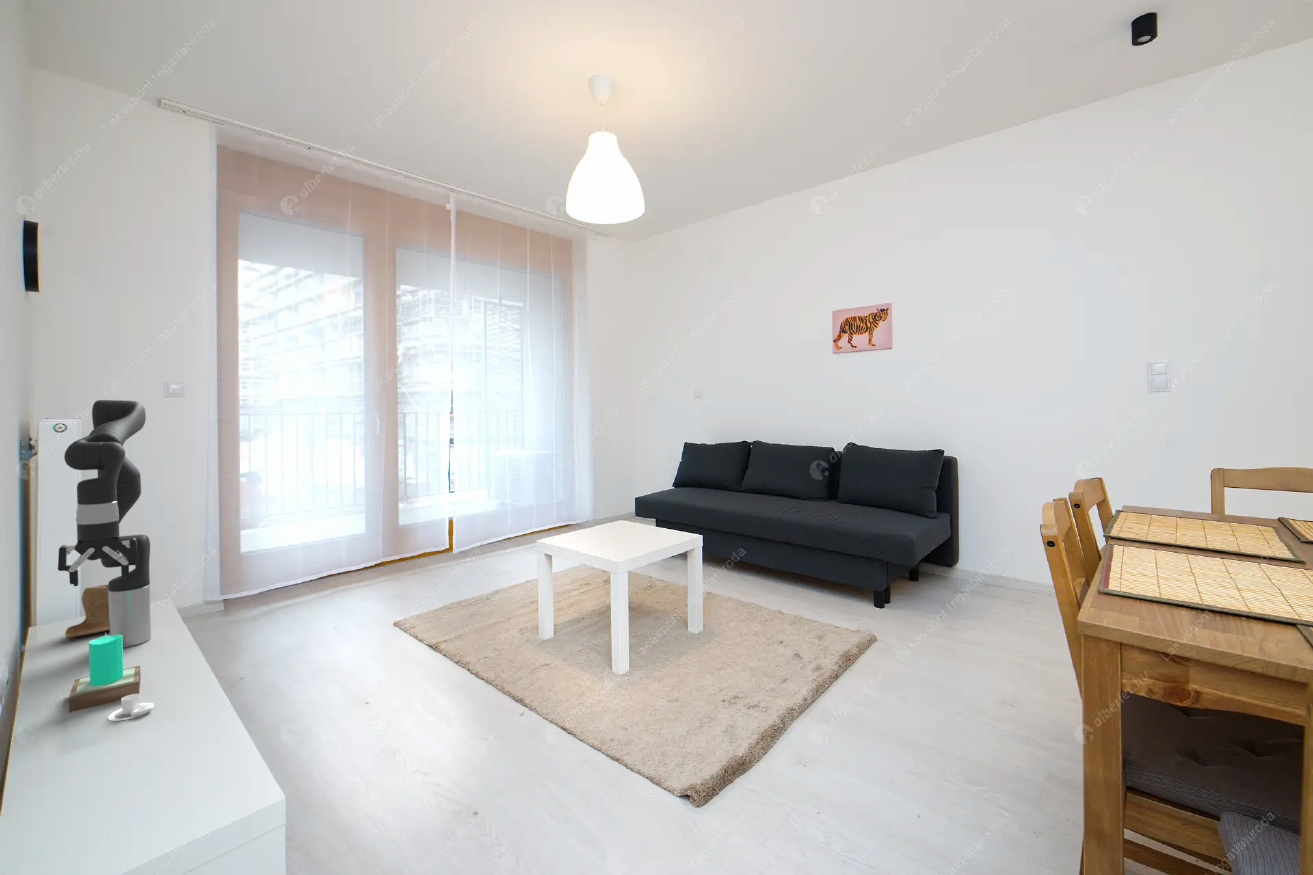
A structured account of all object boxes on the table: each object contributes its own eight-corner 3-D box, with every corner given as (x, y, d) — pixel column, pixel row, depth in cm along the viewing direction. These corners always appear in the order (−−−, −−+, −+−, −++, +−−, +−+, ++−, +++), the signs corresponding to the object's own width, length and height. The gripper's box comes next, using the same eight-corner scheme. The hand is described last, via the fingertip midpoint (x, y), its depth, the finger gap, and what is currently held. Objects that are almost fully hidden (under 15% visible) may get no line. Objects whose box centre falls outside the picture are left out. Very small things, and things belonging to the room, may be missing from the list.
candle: (130, 674, 139) (129, 628, 139) (104, 686, 133) (103, 638, 133) (109, 673, 140) (108, 627, 139) (82, 684, 134) (81, 637, 133)
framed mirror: (75, 693, 137) (74, 678, 137) (140, 678, 145) (140, 664, 145) (68, 712, 128) (68, 697, 128) (139, 695, 136) (138, 680, 136)
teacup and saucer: (156, 714, 128) (155, 697, 128) (108, 728, 122) (107, 710, 122) (152, 701, 134) (152, 685, 134) (107, 713, 128) (106, 696, 128)
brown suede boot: (129, 619, 186) (128, 576, 186) (133, 628, 178) (132, 584, 178) (64, 632, 175) (63, 586, 174) (65, 643, 167) (64, 595, 166)
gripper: (137, 514, 146) (138, 573, 147) (58, 520, 136) (61, 583, 137) (136, 518, 140) (138, 580, 141) (54, 526, 131) (57, 591, 132)
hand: (100, 581), depth 139 cm, fingers open, 8 cm apart
